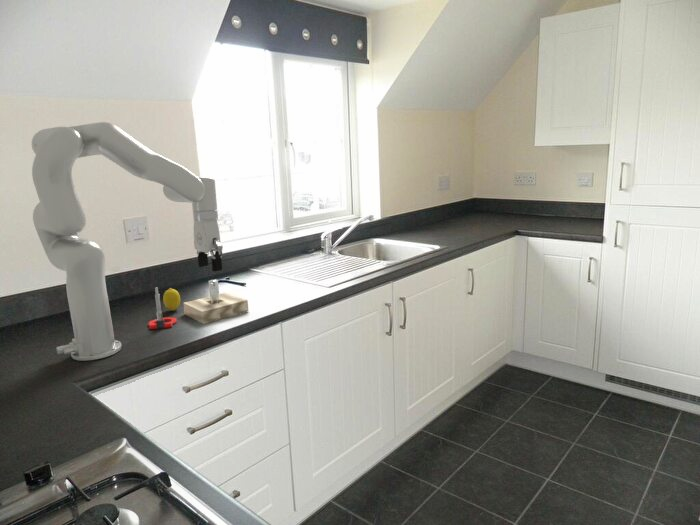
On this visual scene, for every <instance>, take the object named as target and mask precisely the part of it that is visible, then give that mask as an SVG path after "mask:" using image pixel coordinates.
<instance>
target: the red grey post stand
mask: <svg viewBox="0 0 700 525" xmlns="http://www.w3.org/2000/svg"><path fill="white" fill-rule="evenodd" d="M154 292H155V294H154V298H155V305H156V318H155V319H153V320H149V322H147V323H148V326H149V330H160V329H168V328H173V325H174V324H176V323H177V322H178V320H177V318H176V317H169V316H168V317H163V311H162V307H161V300H160V299H161V298H160V293H159V288H158V287H154ZM166 321H167V322H166Z"/></svg>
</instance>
